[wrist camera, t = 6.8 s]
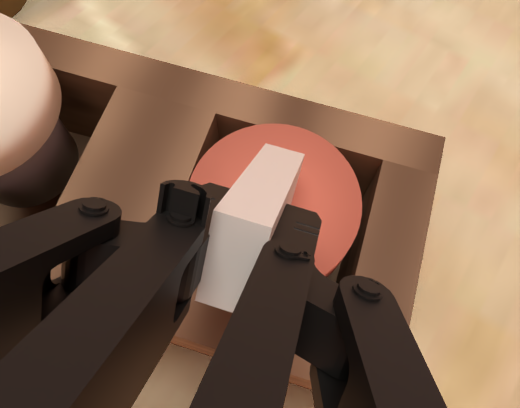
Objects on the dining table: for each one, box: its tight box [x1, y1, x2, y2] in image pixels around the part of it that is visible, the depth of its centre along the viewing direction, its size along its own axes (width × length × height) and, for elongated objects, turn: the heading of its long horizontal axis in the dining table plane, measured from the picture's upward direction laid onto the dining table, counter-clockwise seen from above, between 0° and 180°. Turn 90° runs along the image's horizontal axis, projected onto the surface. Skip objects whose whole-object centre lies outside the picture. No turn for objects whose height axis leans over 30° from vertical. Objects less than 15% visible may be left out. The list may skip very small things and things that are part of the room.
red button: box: [190, 124, 362, 277], centre depth 22 cm, size 7×7×7 cm
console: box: [0, 23, 445, 390], centre depth 25 cm, size 26×12×8 cm, turn 73°
